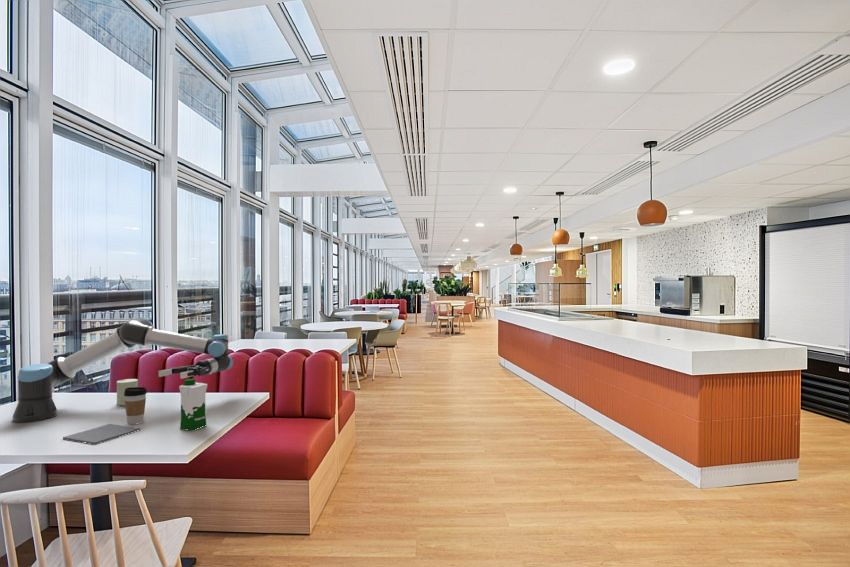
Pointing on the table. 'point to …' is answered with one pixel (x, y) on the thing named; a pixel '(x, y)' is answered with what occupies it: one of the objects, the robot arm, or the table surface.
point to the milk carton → (192, 404)
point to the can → (121, 389)
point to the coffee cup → (135, 404)
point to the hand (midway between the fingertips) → (169, 374)
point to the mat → (101, 433)
